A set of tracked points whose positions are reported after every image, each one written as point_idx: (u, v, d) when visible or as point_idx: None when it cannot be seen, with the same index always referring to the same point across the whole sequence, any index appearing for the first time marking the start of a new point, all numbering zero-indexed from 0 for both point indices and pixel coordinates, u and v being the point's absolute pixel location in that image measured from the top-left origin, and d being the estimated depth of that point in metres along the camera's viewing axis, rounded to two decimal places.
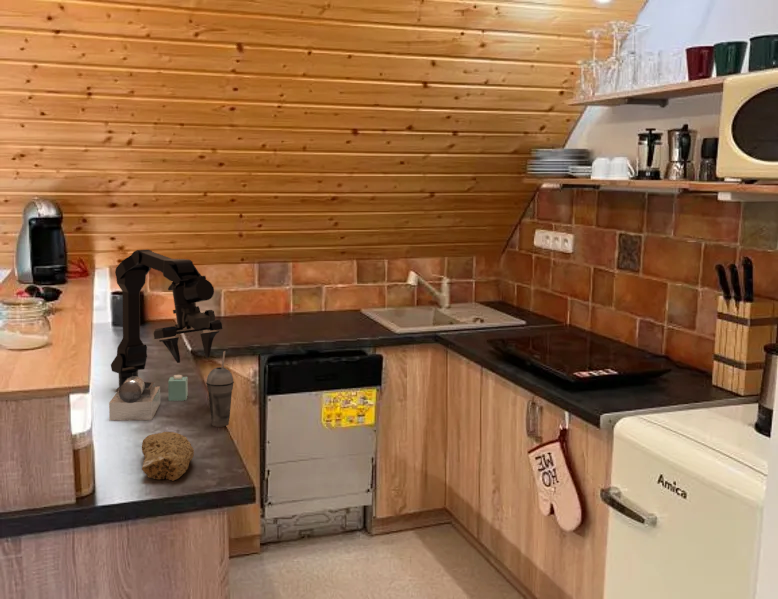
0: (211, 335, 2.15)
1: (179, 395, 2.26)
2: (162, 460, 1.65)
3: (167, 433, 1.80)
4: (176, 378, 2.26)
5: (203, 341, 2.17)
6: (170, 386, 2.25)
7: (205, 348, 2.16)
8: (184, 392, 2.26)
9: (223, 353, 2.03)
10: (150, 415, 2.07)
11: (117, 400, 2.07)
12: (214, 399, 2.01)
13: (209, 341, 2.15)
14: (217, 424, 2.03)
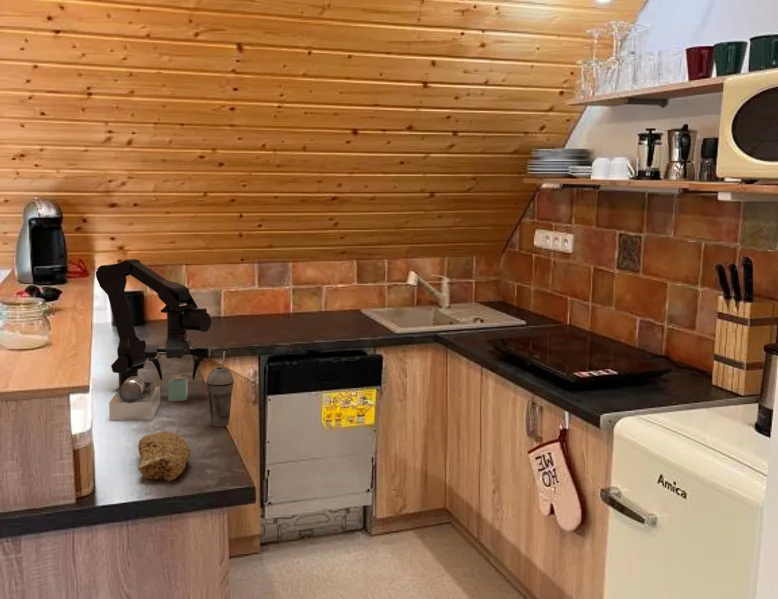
0: (195, 361, 2.26)
1: (179, 395, 2.26)
2: (159, 460, 1.64)
3: (163, 433, 1.80)
4: (176, 378, 2.26)
5: None
6: (170, 386, 2.25)
7: None
8: (184, 392, 2.26)
9: (223, 353, 2.03)
10: (150, 415, 2.07)
11: (117, 400, 2.07)
12: (214, 399, 2.01)
13: (194, 366, 2.27)
14: (217, 424, 2.03)
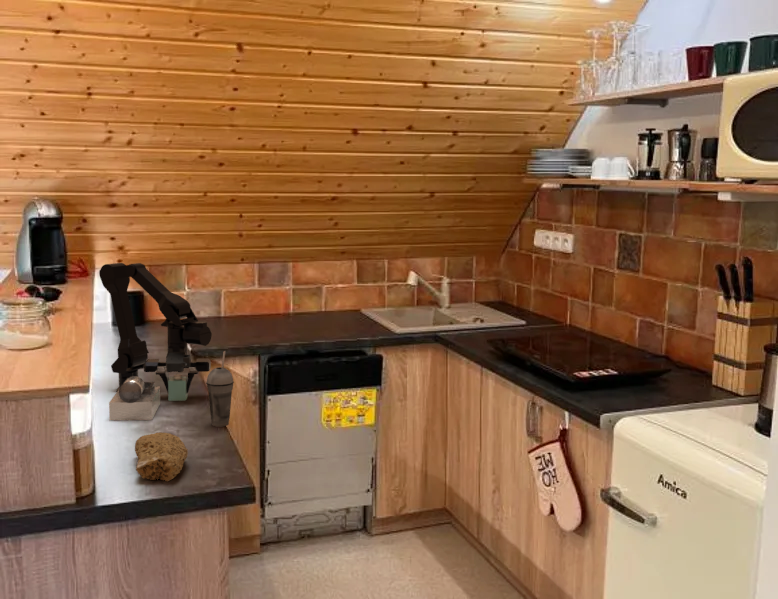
0: (189, 375, 2.26)
1: (179, 395, 2.26)
2: (156, 461, 1.64)
3: (160, 434, 1.80)
4: (176, 378, 2.26)
5: None
6: (170, 386, 2.25)
7: None
8: (184, 392, 2.26)
9: (223, 353, 2.03)
10: (150, 415, 2.07)
11: (117, 400, 2.07)
12: (214, 399, 2.01)
13: (188, 379, 2.27)
14: (217, 424, 2.03)
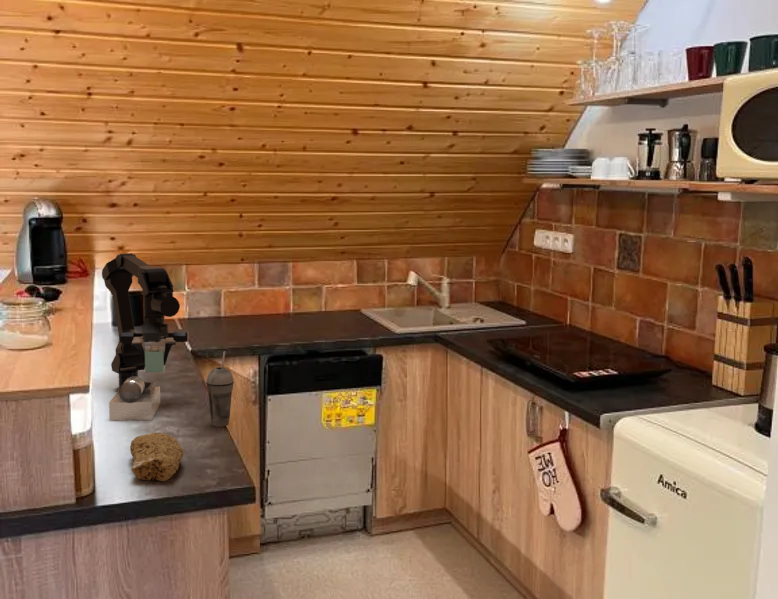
0: (166, 346, 2.18)
1: (156, 367, 2.18)
2: (152, 461, 1.64)
3: (155, 434, 1.80)
4: (153, 349, 2.19)
5: None
6: (147, 357, 2.17)
7: None
8: (161, 363, 2.18)
9: (223, 353, 2.03)
10: (150, 415, 2.07)
11: (117, 400, 2.07)
12: (214, 399, 2.01)
13: (165, 351, 2.19)
14: (217, 424, 2.03)
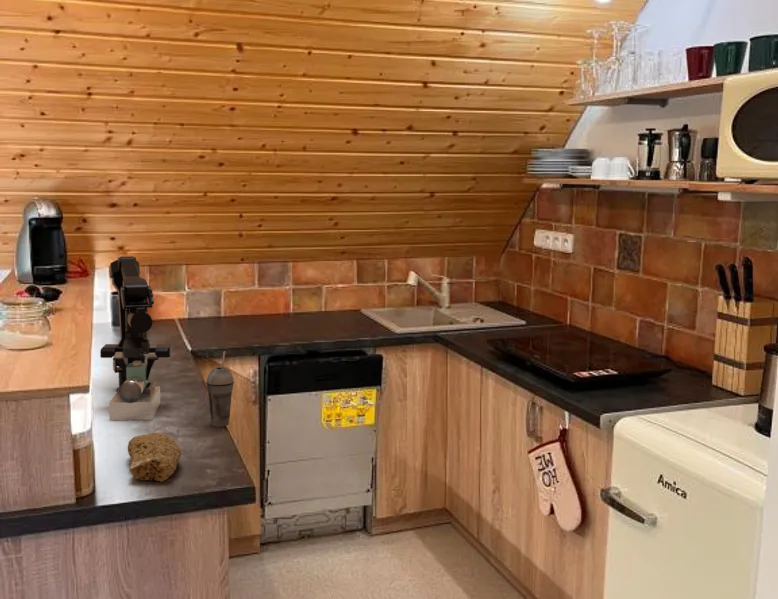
0: (148, 361, 2.14)
1: None
2: (150, 461, 1.64)
3: (153, 434, 1.79)
4: (135, 364, 2.15)
5: None
6: (128, 373, 2.13)
7: None
8: (143, 379, 2.14)
9: (223, 353, 2.03)
10: (150, 415, 2.07)
11: (117, 400, 2.07)
12: (214, 399, 2.01)
13: (148, 366, 2.15)
14: (217, 424, 2.03)
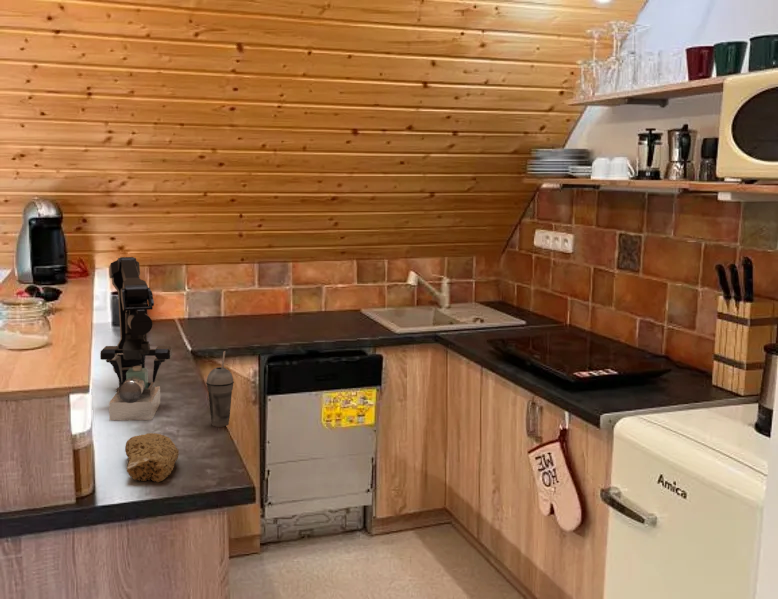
0: (155, 363, 2.14)
1: None
2: (147, 461, 1.63)
3: (151, 434, 1.79)
4: (135, 369, 2.15)
5: None
6: None
7: None
8: None
9: (223, 353, 2.03)
10: (150, 415, 2.07)
11: (117, 400, 2.07)
12: (214, 399, 2.01)
13: (154, 368, 2.15)
14: (217, 424, 2.03)
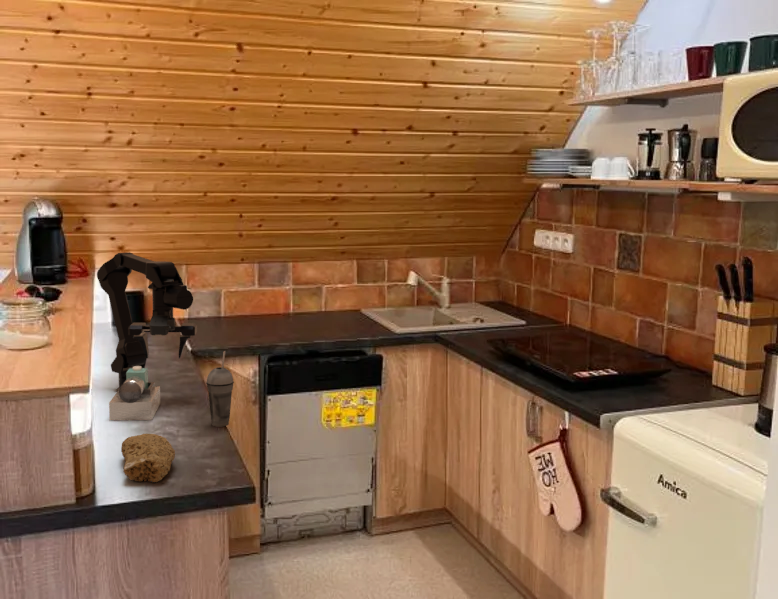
0: (181, 339, 2.21)
1: None
2: (144, 462, 1.63)
3: (147, 435, 1.79)
4: (135, 369, 2.15)
5: None
6: None
7: None
8: None
9: (223, 353, 2.03)
10: (150, 415, 2.07)
11: (117, 400, 2.07)
12: (214, 399, 2.01)
13: (180, 344, 2.22)
14: (217, 424, 2.03)
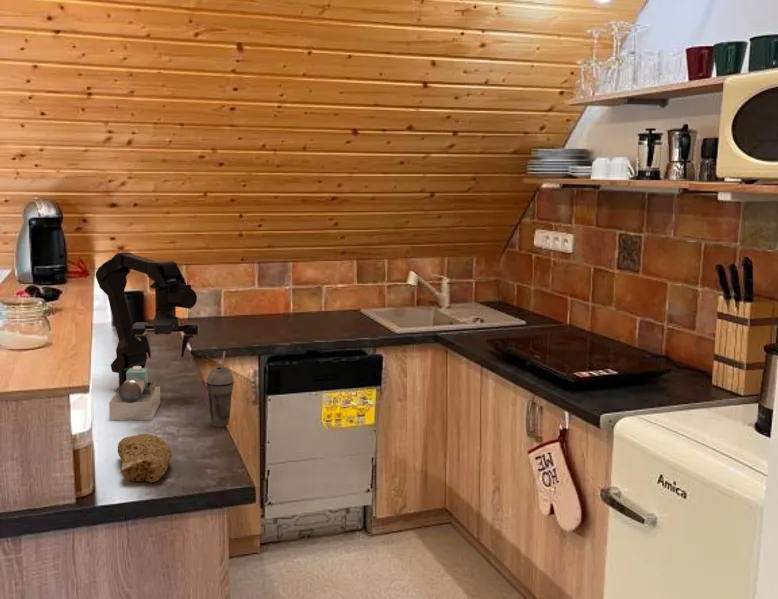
0: (184, 338, 2.22)
1: None
2: (141, 462, 1.63)
3: (143, 435, 1.78)
4: (135, 369, 2.15)
5: None
6: None
7: None
8: None
9: (223, 353, 2.03)
10: (150, 415, 2.07)
11: (117, 400, 2.07)
12: (214, 399, 2.01)
13: (183, 343, 2.23)
14: (217, 424, 2.03)
